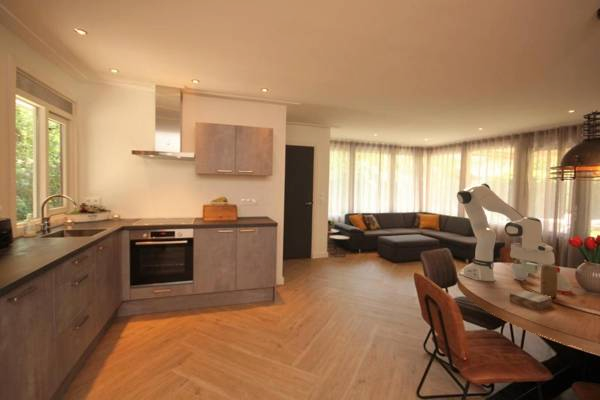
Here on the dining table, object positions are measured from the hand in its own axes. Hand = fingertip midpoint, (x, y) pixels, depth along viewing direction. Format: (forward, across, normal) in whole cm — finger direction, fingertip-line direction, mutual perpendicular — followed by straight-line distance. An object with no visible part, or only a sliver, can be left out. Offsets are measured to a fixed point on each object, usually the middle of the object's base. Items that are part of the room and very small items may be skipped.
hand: (530, 268), depth 158 cm
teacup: (+21, -25, +46) cm, 56 cm away
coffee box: (+21, -32, +68) cm, 78 cm away
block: (+21, 0, +24) cm, 32 cm away
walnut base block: (+21, 0, 0) cm, 21 cm away
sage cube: (+2, 0, 0) cm, 2 cm away
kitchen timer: (+21, -2, +42) cm, 47 cm away
